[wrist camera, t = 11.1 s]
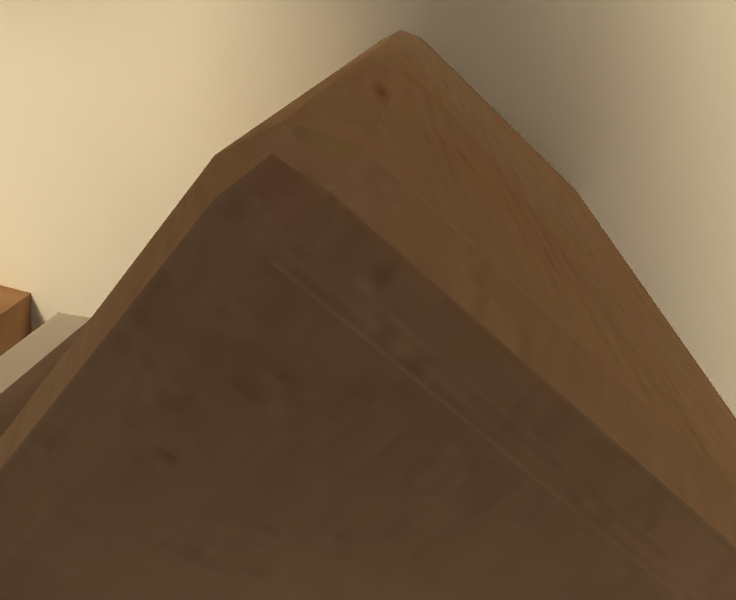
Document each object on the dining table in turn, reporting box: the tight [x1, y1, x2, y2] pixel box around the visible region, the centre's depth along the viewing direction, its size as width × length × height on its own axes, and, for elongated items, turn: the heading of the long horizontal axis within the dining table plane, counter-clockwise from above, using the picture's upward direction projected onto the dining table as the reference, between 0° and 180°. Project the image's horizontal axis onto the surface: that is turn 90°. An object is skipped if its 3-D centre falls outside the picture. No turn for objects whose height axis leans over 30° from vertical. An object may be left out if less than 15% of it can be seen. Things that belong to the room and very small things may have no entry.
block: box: [0, 30, 736, 600], centre depth 17 cm, size 10×10×20 cm
